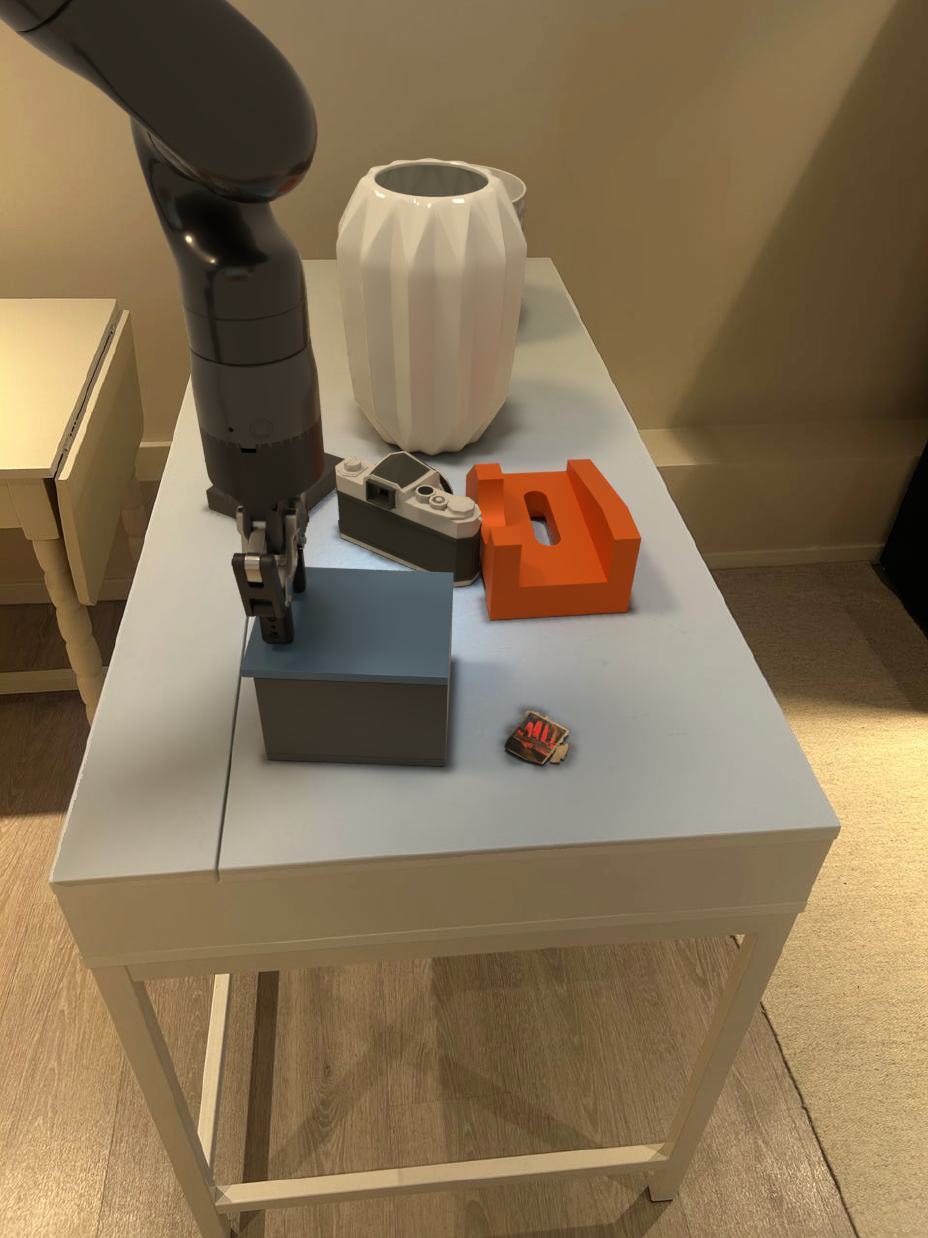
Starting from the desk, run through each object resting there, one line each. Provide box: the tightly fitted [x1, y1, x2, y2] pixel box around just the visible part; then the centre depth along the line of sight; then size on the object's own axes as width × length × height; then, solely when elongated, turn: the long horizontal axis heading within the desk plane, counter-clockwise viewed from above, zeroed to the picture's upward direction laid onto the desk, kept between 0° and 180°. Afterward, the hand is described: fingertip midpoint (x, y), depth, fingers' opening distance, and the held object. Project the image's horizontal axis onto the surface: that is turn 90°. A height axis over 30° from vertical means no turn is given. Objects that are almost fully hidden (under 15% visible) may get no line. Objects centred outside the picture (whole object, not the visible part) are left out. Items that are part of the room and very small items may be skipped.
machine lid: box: [240, 552, 454, 685], centre depth 68 cm, size 14×12×5 cm
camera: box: [335, 450, 483, 588], centre depth 89 cm, size 16×9×10 cm, turn 58°
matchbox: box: [504, 709, 570, 765], centre depth 73 cm, size 5×5×1 cm
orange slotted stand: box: [464, 458, 642, 621], centre depth 88 cm, size 18×13×8 cm
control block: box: [205, 451, 346, 519], centre depth 96 cm, size 12×9×4 cm
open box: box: [252, 597, 454, 767], centre depth 73 cm, size 14×12×9 cm
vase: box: [335, 157, 528, 456], centre depth 99 cm, size 20×20×28 cm
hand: (285, 613), depth 69 cm, fingers closed on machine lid, 5 cm apart
